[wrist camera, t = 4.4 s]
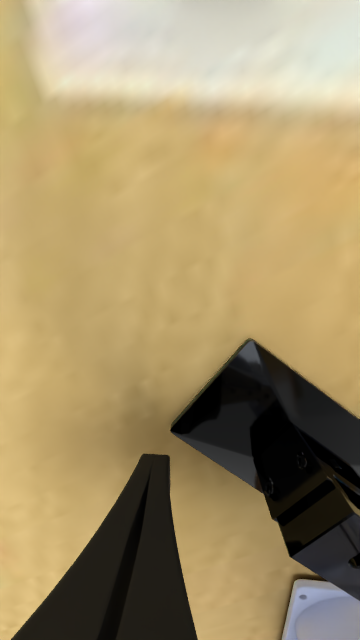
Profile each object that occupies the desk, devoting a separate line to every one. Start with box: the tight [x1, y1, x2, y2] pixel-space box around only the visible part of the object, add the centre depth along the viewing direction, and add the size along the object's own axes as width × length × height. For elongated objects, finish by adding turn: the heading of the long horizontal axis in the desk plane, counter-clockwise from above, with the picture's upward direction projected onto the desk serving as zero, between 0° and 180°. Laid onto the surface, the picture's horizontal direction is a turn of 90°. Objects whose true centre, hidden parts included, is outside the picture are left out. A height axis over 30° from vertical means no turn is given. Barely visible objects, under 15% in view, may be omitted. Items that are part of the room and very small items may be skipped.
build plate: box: [170, 339, 360, 601], centre depth 9 cm, size 12×7×5 cm, turn 54°
